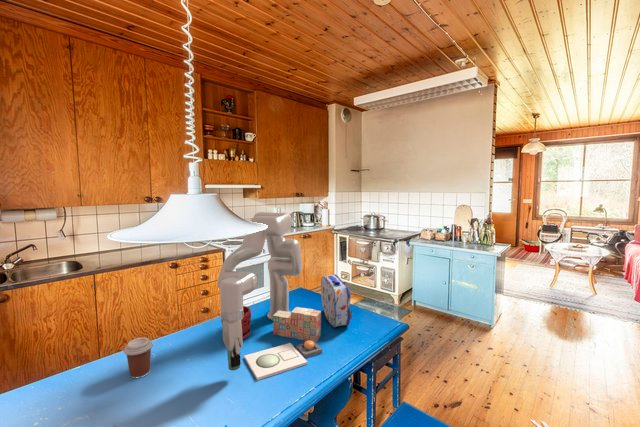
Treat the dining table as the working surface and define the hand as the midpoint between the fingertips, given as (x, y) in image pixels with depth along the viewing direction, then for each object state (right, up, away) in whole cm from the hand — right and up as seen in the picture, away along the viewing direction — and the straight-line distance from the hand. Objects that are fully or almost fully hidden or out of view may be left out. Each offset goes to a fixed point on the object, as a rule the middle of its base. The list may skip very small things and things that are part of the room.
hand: (234, 362), depth 111 cm
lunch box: (+39, -1, +48) cm, 62 cm away
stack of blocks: (+20, -3, +32) cm, 38 cm away
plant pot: (-7, -3, +30) cm, 31 cm away
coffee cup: (-35, -6, +3) cm, 36 cm away
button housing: (+26, -4, +19) cm, 32 cm away
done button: (+26, -3, +18) cm, 32 cm away
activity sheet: (+13, -5, +11) cm, 18 cm away
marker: (0, -2, 0) cm, 2 cm away
